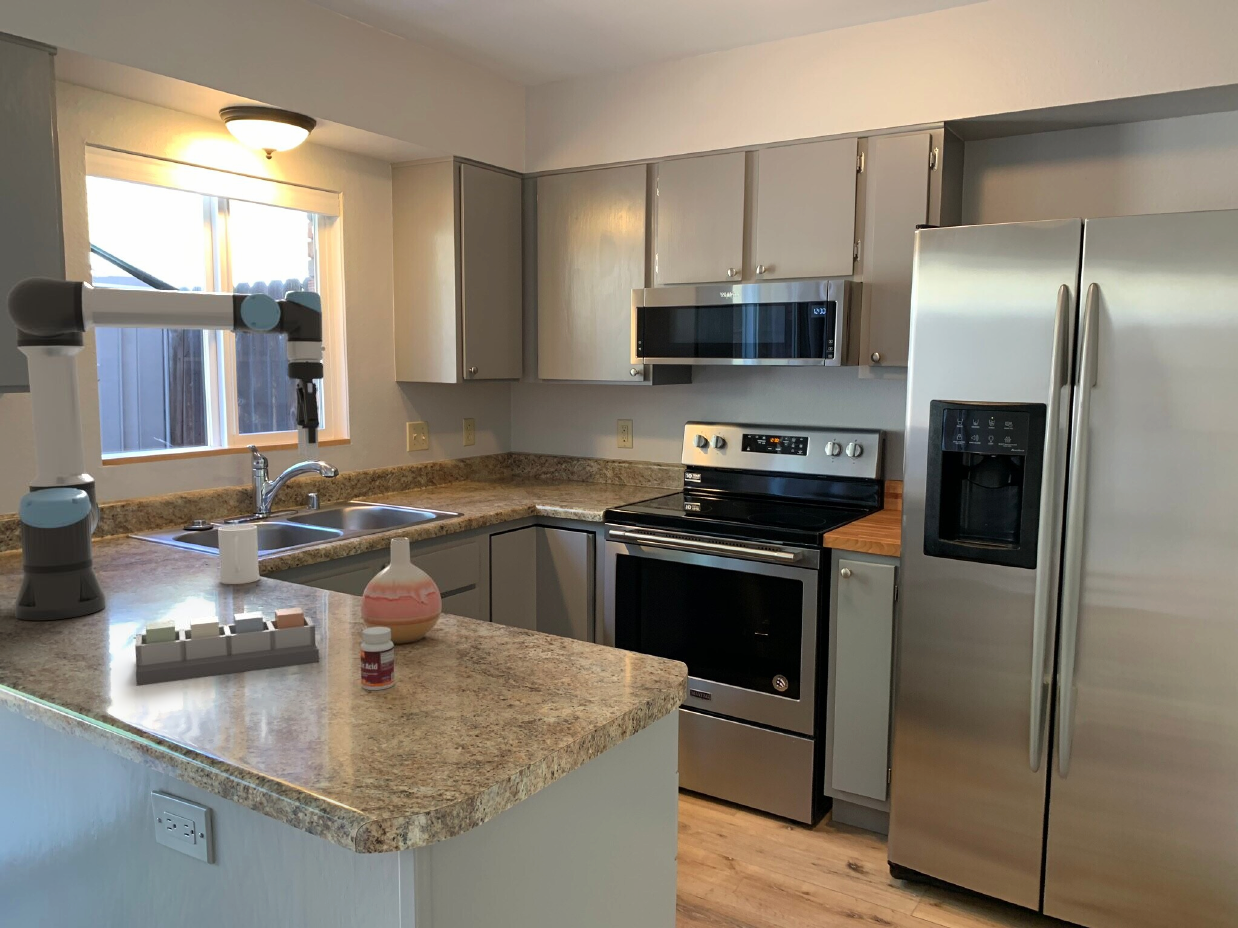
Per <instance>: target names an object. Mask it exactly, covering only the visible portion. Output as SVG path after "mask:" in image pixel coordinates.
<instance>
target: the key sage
mask: <svg viewBox="0 0 1238 928" xmlns="http://www.w3.org/2000/svg"><path fill="white" fill-rule="evenodd" d="M175 623H176V622H175V620H168V621H167V620H166V621H159V622H149V623H146V624H145V634H146V641H147V644H151V643H160V642H168V641H176V639H175V630H176V624H175Z"/></svg>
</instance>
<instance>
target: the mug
mask: <svg viewBox="0 0 1238 928" xmlns="http://www.w3.org/2000/svg"><path fill="white" fill-rule="evenodd" d="M217 534H218V535H217V536H218V555H219V556H218V558H219V579H218V582H219V584H223V585H244V584H249V583H250V584H251V583H254V582H257V581H259V580H260V579H261V575H260V572H259V571H260V569H259V548H258V544H259V543H258V526H257V525H254V524H234V525H233V524H232V525H226V526H225V525H224V526H220V527H219V528H218V529H217Z"/></svg>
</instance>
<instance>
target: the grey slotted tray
mask: <svg viewBox="0 0 1238 928" xmlns="http://www.w3.org/2000/svg"><path fill="white" fill-rule="evenodd" d="M175 639H176V641H168V642H160V643H151V644H147V641H146V633H137V634H136V635H135V645H134V646H135V663H136V664H135V679H136V680H135V682H136V683H135V684H136V686H142V685H149V684H158V683H166V682H173V681H180V680H186V679H187V680H188V679H196V678H197V679H198V678H202V677H211V676H218V675H219V676H220V675H226V674H233V673H243V672H249V671H257V670H265V669H271V668H272V669H273V668H279V667H280V668H281V667H287V666H295V665H303V664H312V663H319V662H320V656H319V655H320V654H319V653H320V650H319V647H318V646H317V644H316V627H315V624H314V622H313V621H312V619H311V618H310V616H309V615H304V626H301V627H292V628H283V629H276V628H275V618H274V619H268V620H267V619H266V620H263V631H257V632H248V633H239V634H235V626H234V623H228V624H219V636H213V637H204V638H195V639H191V629H190V628H183V629H175Z"/></svg>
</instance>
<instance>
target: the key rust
mask: <svg viewBox="0 0 1238 928" xmlns="http://www.w3.org/2000/svg"><path fill="white" fill-rule="evenodd" d="M304 616H305V615H304V612H303V609H302V608H301V607H292V608H279V609H274V619H275V628H276V629H283V628H292V627H301V626H304Z"/></svg>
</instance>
